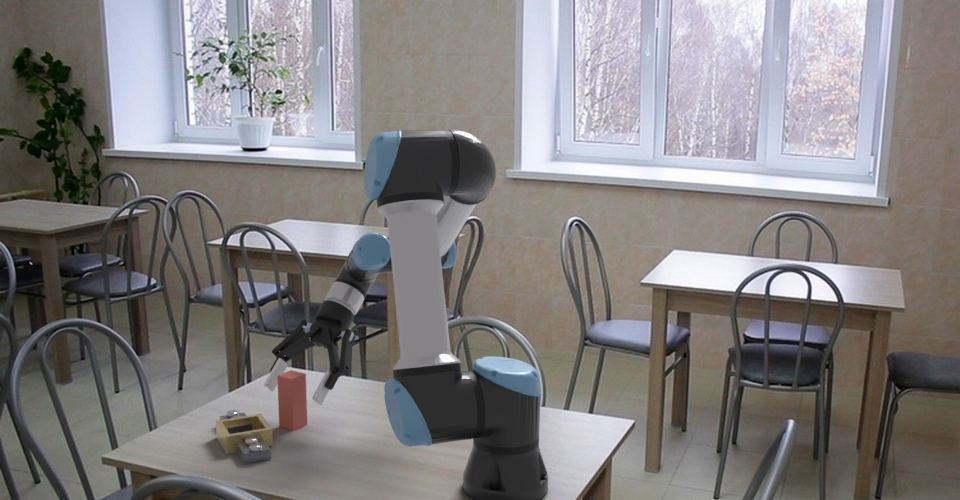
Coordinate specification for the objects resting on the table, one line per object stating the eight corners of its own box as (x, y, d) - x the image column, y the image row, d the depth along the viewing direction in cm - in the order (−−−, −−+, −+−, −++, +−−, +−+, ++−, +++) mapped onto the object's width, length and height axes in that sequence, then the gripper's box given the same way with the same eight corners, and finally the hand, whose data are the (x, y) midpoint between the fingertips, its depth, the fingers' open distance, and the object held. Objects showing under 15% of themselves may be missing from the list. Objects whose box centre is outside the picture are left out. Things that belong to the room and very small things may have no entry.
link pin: (307, 424, 202) (305, 373, 200) (293, 430, 199) (291, 379, 197) (293, 420, 204) (291, 370, 202) (279, 426, 201) (277, 375, 199)
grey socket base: (281, 457, 186) (280, 440, 185) (233, 466, 182) (233, 448, 181) (253, 419, 205) (253, 403, 204) (210, 426, 201) (209, 410, 200)
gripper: (393, 326, 206) (347, 416, 197) (306, 308, 220) (259, 391, 211) (376, 307, 201) (328, 398, 192) (288, 290, 214) (239, 374, 205)
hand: (291, 395), depth 201 cm, fingers open, 13 cm apart
